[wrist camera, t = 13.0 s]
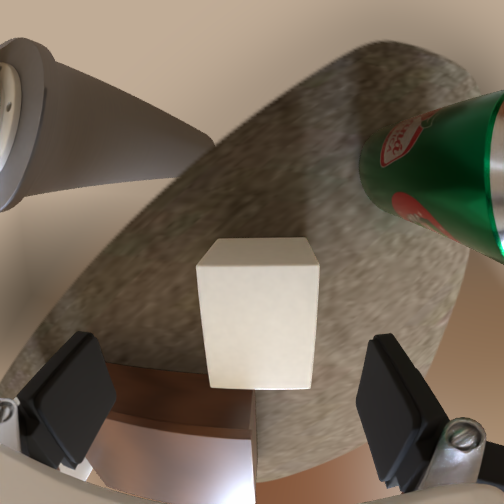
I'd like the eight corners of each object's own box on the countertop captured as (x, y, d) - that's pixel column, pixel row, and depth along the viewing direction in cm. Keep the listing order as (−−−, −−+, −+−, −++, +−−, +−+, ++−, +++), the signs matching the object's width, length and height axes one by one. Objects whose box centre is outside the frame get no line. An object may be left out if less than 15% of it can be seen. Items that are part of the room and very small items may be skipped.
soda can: (406, 113, 14) (566, 64, 2) (443, 188, 15) (605, 228, 3) (339, 151, 15) (483, 116, 3) (381, 229, 16) (530, 328, 4)
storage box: (127, 444, 23) (106, 486, 17) (90, 357, 20) (51, 401, 14) (259, 461, 22) (256, 513, 16) (257, 373, 19) (251, 439, 13)
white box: (224, 337, 18) (209, 388, 14) (217, 238, 17) (195, 265, 12) (302, 337, 18) (310, 389, 13) (306, 237, 16) (320, 263, 11)
